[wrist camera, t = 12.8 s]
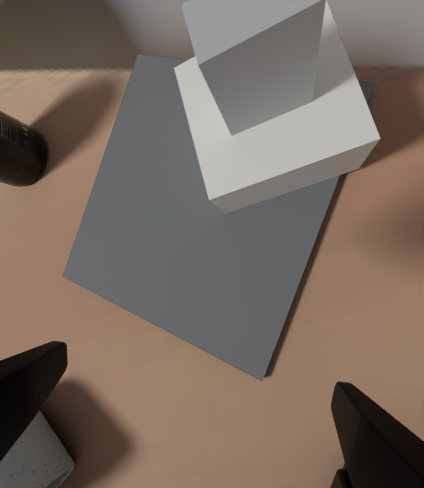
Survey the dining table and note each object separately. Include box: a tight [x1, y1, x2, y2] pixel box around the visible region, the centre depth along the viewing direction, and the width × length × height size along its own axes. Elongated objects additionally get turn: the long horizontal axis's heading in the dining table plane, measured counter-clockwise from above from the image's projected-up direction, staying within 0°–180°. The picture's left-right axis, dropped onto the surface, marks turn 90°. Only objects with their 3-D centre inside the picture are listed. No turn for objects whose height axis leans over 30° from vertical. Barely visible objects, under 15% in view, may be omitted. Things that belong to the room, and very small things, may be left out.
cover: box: [174, 0, 381, 213], centre depth 15 cm, size 10×10×10 cm
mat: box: [63, 54, 374, 381], centre depth 22 cm, size 21×23×1 cm
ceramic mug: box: [0, 410, 74, 488], centre depth 22 cm, size 11×8×8 cm
